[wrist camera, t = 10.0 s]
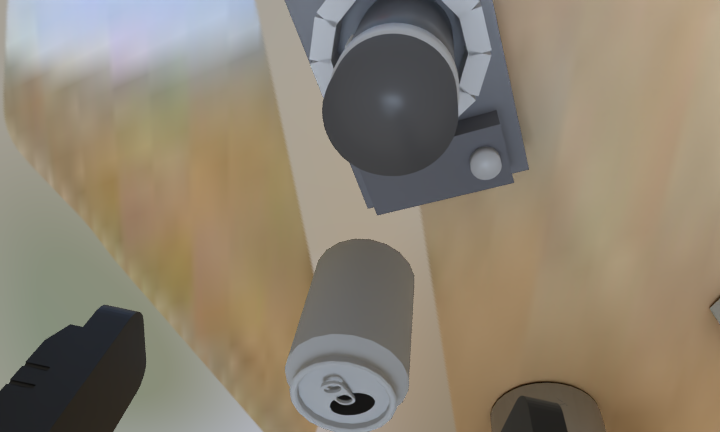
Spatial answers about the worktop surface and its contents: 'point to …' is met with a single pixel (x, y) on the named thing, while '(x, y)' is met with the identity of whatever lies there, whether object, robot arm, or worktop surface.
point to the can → (353, 338)
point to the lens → (395, 89)
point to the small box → (716, 310)
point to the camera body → (475, 111)
